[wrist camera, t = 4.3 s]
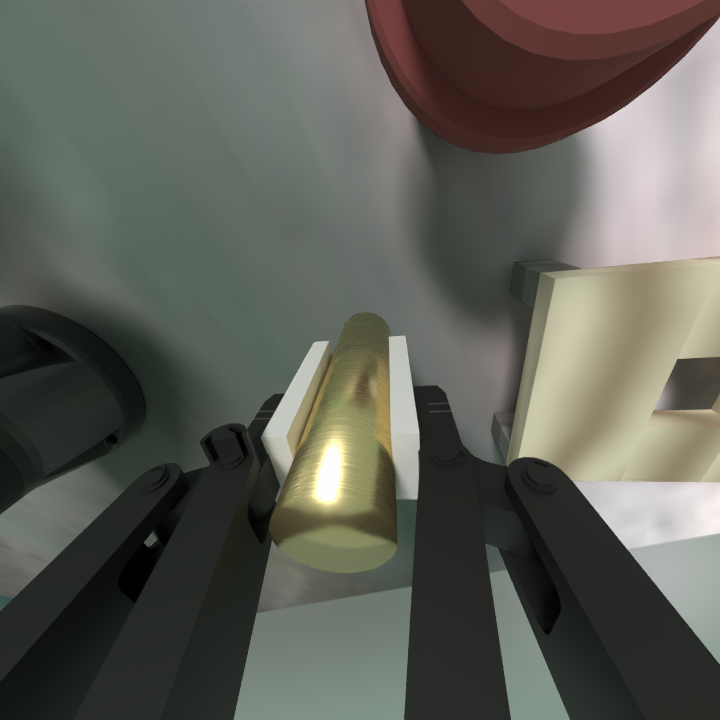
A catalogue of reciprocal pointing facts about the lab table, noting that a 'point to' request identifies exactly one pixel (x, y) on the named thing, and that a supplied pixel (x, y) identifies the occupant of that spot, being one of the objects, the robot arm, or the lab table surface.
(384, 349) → the long pin
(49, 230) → the lab table surface
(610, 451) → the stand
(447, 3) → the mechanical component
